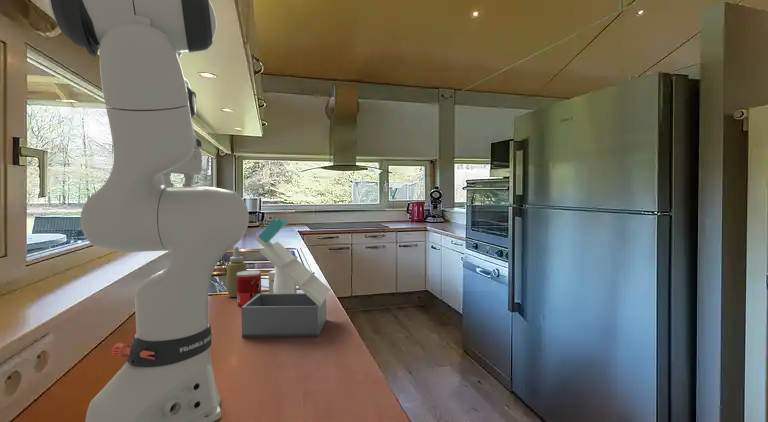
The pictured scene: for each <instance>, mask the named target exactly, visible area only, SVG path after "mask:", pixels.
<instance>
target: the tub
mask: <svg viewBox="0 0 768 422" xmlns="http://www.w3.org/2000/svg"><path fill="white" fill-rule="evenodd" d="M240 311H241V314H240V315H241V337H242V338H318V337H319V335H320V334H321V331H322V330H323V328H324V325H325V323H326V321H327V297H326V298H325V300H324V302H323V303H322V304H321V306H320V307H319V306H318V305H317V304H316V303H315V302H314V301H313V300H312V299H311V298H310V297H309V296H307V295H306V294H305V293H304V292H303V293H301V292H299V293H277V294H269V293H261V294H258V295H256V296H255V297H254V298H253V299H251V300H250V301H249V302H247V303H246V304H245V305H244V306H242V307H240Z"/></svg>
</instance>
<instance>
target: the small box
mask: <svg viewBox="0 0 768 422" xmlns="http://www.w3.org/2000/svg"><path fill="white" fill-rule="evenodd" d="M274 279H275V269H273V270H270V271H269V272H268V294H274V292H273V286H274ZM297 288H298V286H296V285H295V284H294V293H297V290H298V289H297Z"/></svg>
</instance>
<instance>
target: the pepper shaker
mask: <svg viewBox="0 0 768 422" xmlns="http://www.w3.org/2000/svg"><path fill="white" fill-rule="evenodd" d="M291 254H292V255H293V253H291ZM293 256H294V255H293ZM274 270H275V279H274V286H273V292H274V294H277V293H294V283H293V282H292V281H291V280H290V279H289V278H288V277H287V276H285V275H284V274H283V273H282V272H281V271H280V270H279V269H278V268H277V267H276V266H275V265H274Z"/></svg>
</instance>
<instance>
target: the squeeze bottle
mask: <svg viewBox="0 0 768 422" xmlns="http://www.w3.org/2000/svg"><path fill="white" fill-rule="evenodd" d="M226 268H227V269H226V282H225V289H226V291H227V294H228V296H229V297H231V298H237V273H238V272H241V271H248V269H247V268H248V267H247V263H246V262H245V261H244V256H241V254H240V249H239V247H238V246H235V247H234V250H233V255H232V256H230V257H229V263H227V266H226Z"/></svg>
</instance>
